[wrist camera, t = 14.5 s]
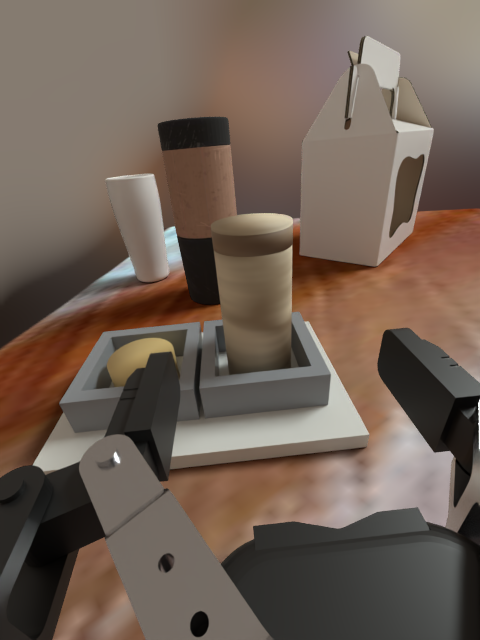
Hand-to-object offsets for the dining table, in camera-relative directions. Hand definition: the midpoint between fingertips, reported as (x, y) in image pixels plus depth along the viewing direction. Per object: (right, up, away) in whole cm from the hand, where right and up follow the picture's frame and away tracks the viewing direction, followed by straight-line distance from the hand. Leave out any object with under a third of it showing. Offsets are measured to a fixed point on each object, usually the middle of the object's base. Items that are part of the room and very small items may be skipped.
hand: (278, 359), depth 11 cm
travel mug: (-5, +5, +30) cm, 31 cm away
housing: (-4, -4, +13) cm, 15 cm away
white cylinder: (-16, +8, +37) cm, 41 cm away
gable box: (+21, +16, +44) cm, 51 cm away
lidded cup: (0, -3, +13) cm, 13 cm away
